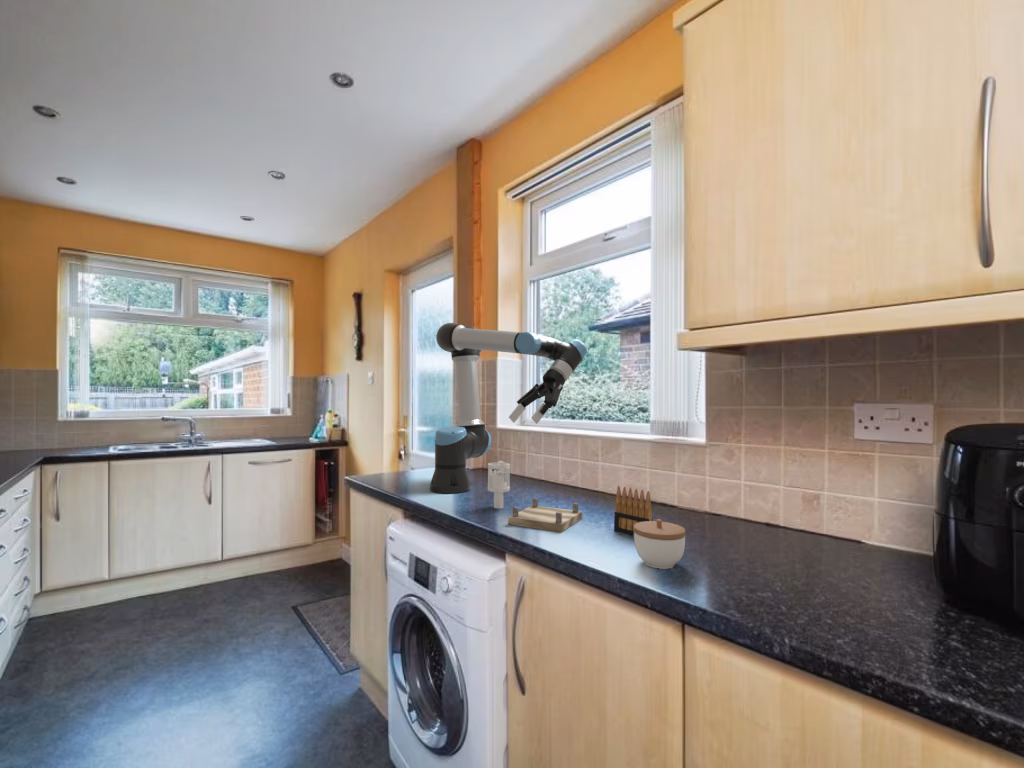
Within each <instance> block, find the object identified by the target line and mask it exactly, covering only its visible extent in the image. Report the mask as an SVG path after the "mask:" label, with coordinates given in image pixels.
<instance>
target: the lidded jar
mask: <svg viewBox="0 0 1024 768" xmlns="http://www.w3.org/2000/svg"><path fill="white" fill-rule="evenodd" d="M633 530H634V536H633V539H634V540H633V541H634V546H635V547H634V548H635V550H636V553H637V555H638V556H639V558H640V559H641V560H642V561H643V562H644V564H645V565H646V566H647V567H650V568H653V569H657V568H659V570H669V568H670V569H672V568H674V567H675V565H677V563H678V562H679V561H681V559H682V557H683V555H684V553H685V552H684V551H685V545H686V534H687V533H686V531H687V530H686V529H685V527H683V526H681V525H680V524H676V523H672V522H667V521H662V519H657V518H656V520H653V521H644V522H639V523H636V524H634V526H633Z"/></svg>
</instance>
